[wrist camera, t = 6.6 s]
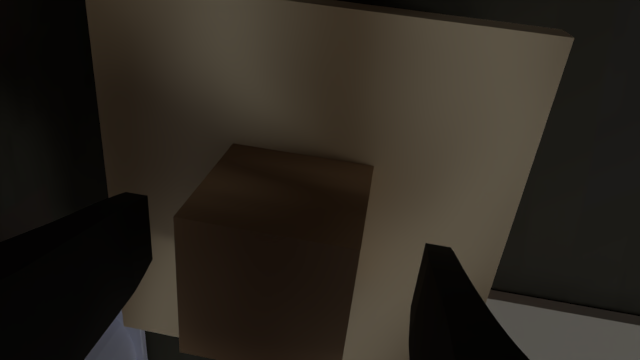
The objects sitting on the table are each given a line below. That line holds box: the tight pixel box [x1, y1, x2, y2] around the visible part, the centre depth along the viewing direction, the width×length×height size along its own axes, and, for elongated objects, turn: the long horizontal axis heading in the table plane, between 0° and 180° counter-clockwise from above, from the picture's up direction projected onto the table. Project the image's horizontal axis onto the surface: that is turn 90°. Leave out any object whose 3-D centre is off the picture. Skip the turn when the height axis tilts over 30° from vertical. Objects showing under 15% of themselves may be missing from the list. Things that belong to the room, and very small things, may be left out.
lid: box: [85, 0, 574, 360], centre depth 14 cm, size 12×12×5 cm
